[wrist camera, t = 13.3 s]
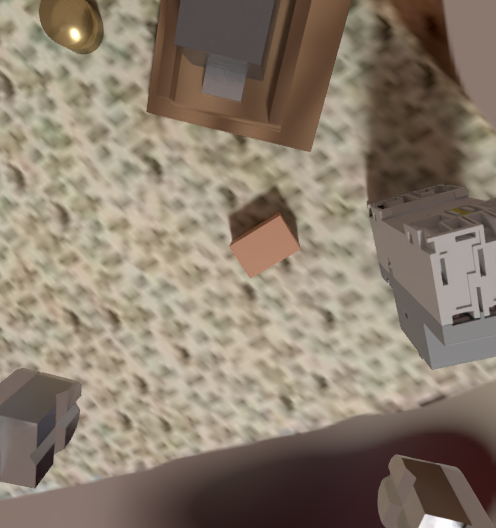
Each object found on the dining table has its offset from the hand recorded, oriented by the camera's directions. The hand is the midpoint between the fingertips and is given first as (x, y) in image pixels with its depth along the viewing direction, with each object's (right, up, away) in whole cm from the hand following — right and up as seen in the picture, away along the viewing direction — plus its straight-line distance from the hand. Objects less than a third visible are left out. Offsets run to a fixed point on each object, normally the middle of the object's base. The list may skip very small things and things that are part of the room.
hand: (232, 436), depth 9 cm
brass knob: (-15, +27, +25) cm, 40 cm away
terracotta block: (+2, +7, +30) cm, 30 cm away
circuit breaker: (+18, +5, +29) cm, 35 cm away
